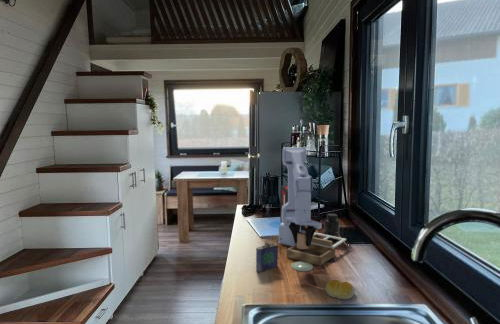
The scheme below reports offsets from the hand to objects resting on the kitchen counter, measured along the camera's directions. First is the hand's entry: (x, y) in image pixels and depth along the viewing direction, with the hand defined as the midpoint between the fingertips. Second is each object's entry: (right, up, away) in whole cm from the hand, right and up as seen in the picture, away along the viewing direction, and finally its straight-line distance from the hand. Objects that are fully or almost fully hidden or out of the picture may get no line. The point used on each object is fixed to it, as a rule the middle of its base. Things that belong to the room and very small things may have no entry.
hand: (302, 244), depth 135 cm
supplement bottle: (+18, -6, +32) cm, 38 cm away
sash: (+12, -3, +20) cm, 23 cm away
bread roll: (+9, -12, -19) cm, 24 cm away
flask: (-13, -10, 0) cm, 16 cm away
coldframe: (+5, -8, +12) cm, 15 cm away
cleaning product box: (+2, -3, +56) cm, 56 cm away
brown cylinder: (0, -1, 0) cm, 1 cm away
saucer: (0, -9, +1) cm, 9 cm away
